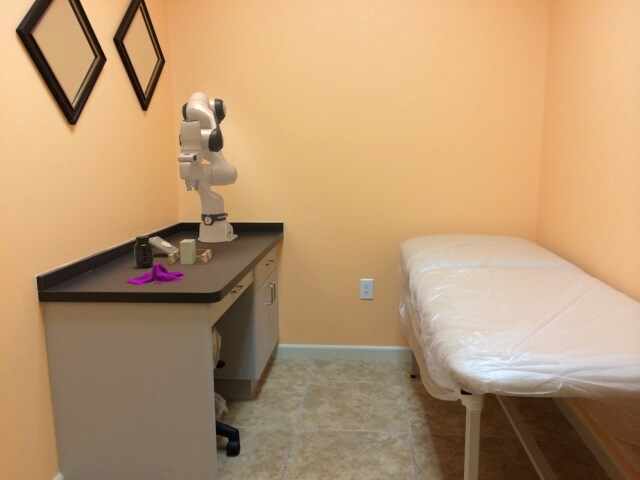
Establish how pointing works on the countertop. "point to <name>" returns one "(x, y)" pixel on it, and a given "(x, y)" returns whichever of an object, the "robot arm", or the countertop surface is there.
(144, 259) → the supplement bottle
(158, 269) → the cloth
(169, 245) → the light switch
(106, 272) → the countertop surface
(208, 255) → the wooden frame
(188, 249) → the pale olive cuboid
